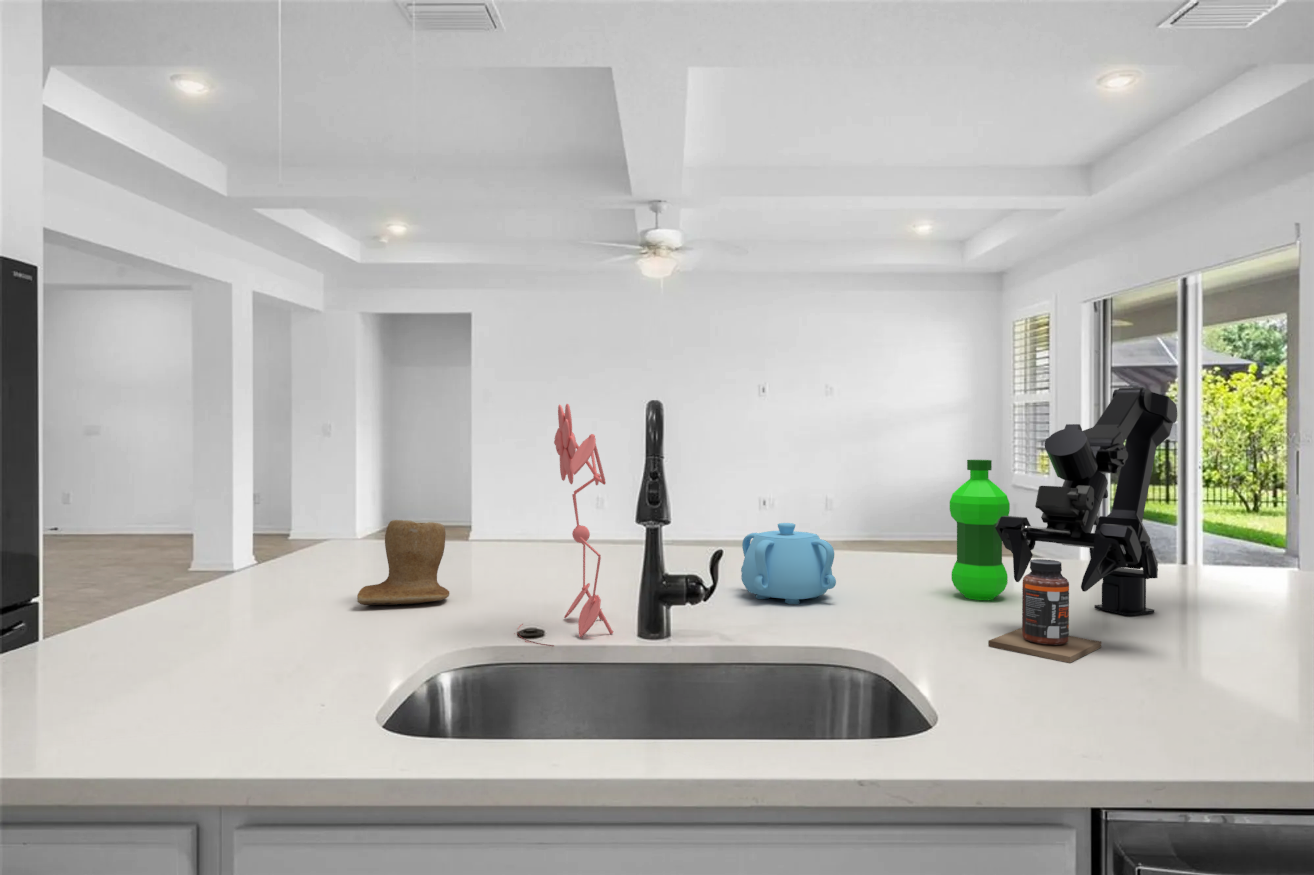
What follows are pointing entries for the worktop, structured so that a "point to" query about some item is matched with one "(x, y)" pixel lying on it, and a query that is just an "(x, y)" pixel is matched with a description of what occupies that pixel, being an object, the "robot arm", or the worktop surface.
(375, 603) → the brown chair seat
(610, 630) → the figurine
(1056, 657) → the walnut coaster board
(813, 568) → the decorative pot
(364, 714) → the worktop surface
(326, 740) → the worktop surface
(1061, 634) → the supplement bottle
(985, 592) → the plastic bottle
